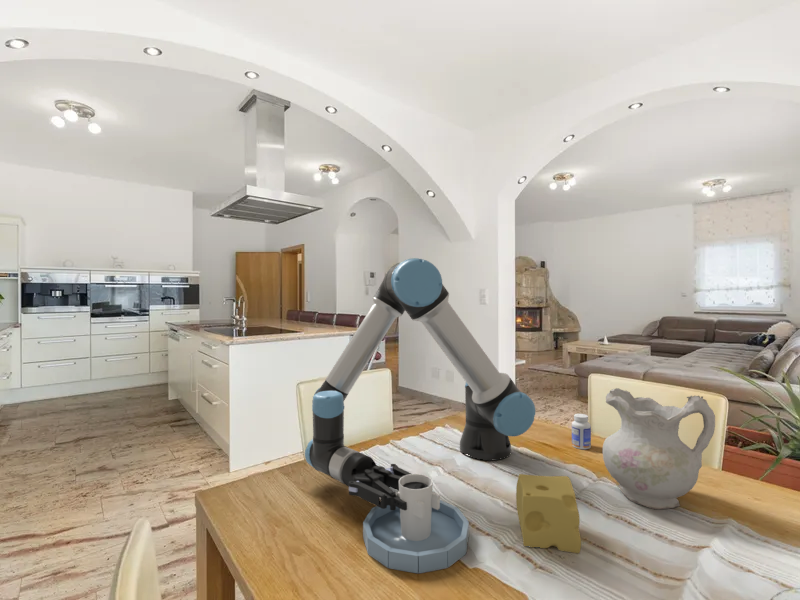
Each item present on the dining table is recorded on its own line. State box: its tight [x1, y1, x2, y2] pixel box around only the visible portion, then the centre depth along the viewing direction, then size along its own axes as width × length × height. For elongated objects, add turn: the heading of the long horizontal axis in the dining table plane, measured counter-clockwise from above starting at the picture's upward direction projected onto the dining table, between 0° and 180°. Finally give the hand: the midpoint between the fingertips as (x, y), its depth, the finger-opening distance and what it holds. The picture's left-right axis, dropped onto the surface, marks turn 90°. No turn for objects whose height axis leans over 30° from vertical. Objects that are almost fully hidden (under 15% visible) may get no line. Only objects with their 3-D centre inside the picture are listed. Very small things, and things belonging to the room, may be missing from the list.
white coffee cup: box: [398, 473, 434, 541], centre depth 80 cm, size 7×7×10 cm
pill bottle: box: [571, 413, 592, 450], centre depth 126 cm, size 5×5×10 cm
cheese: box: [515, 473, 582, 554], centre depth 80 cm, size 10×11×10 cm
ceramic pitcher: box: [602, 387, 716, 510], centre depth 95 cm, size 22×20×25 cm
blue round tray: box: [362, 499, 470, 574], centre depth 80 cm, size 20×20×3 cm
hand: (430, 506), depth 77 cm, fingers closed on white coffee cup, 4 cm apart
